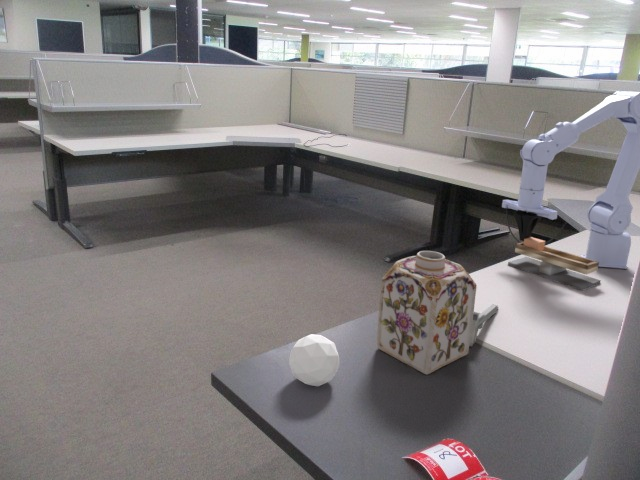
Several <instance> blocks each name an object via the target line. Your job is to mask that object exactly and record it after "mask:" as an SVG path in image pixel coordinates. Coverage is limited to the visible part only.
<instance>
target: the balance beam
mask: <svg viewBox="0 0 640 480" xmlns="http://www.w3.org/2000/svg"><path fill="white" fill-rule="evenodd" d="M514 253H516V254H520V255H523V256H524V257H522V258H518V259H515V260H511V261H507V266H510V267H513V268H516V269H518V270H522V271H525V272H528V273H531V274H534V275H535V276H539V277H542V278H545V279H548V280H551V281H554V282H557V283H560V284H563V285H566V286H568V287H571V288H573V289H574V288H575V289H576V290H581V291H583V290H587V289H589V288H592V287H594V286H597V285H600V284H601V281H602V280H600V279H597V278H594V277H591V276H588V275H589V274H592V273H595V272H598V270H599V267H598V265H599V262H598V261H594V260H591V259H587V258H584V257H581V256H580V255H576V254H573V253H569V252H566V251H562V250H560V249H556V248H553V247H549V246H547V245H546V246H544V251H540V250H537V249H534V248H530V247H527V246H524V241H522V242H519V243H516V244H515V249H514Z"/></svg>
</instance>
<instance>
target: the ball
mask: <svg viewBox="0 0 640 480" xmlns="http://www.w3.org/2000/svg"><path fill="white" fill-rule="evenodd" d="M288 364H289V367H290V369H291V370H290V371H291V372H292V375H293V377H294V378H295V379H297V380H298V381H300V382H302V383H304V384H305V385H307V386H313V387H320V386H323V385H325V384H327V383H329V382H331V381H332V379H333V378H334V377H335V375H336V374H337V373H338V371H339V370H340V356H339V352H338V349H337V346H336V344H335V342H333V340H330V339H329V338H327V337H325V336H323V335H321V334H315V333H313V334H312V333H310V334H309V335H306V336H304V337H302V338H300V339H298V340H297V341H296V343H295V344H294V345H293V347H292V348H291V350H290V352H289V359H288Z"/></svg>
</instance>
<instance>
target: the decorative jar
mask: <svg viewBox="0 0 640 480" xmlns="http://www.w3.org/2000/svg"><path fill="white" fill-rule="evenodd" d="M380 281H381V282H380V283H381V284H380V292H379V293H380V294H379V307H378V316H377V317H378V318H377V332H376V333H377V336H376V348H377V349H378V350H380V351H382V352H384V353H385V354H387V355H389V356H390V357H393V359H394V358H395V359H396V360H398V361H400V362H402V363H403V364H405V365H408V366H409V367H410V368H412V369H415V370H416V371H419V372H420V373H422V374H424V375H426V376H427V375H430V374H431V373H434V372H436V371H437V370H439V369H441V368H442V367H444V366H446V365H449V364H451V363H453V362H455V361H457V360H458V359H460V358H463V357H465V356H467V355H469V349H470V346H469V344H470V337H471V330H472V321H473V313H474V312H475V303H476V293H477V283H476V282H475V281H474V279H473V278H472V277H471V274H470V273H469V272H468V271H467V270H466V269H465V268H464V266H462V265H461V264H460V263H456V262H455V261H451V260H449V259H446V256H445V255H444V254H443V253H441V252H438V251H433V250H420V251H419V252H417V253H416V255H412V256H407V257H404V258H401V259H399V260H397V261H395V262H394V263H393V265H392V266H391V267H390V269H388V270H387V272H386V273H385V275H383V276H382V278H381V280H380Z"/></svg>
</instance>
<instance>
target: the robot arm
mask: <svg viewBox="0 0 640 480" xmlns="http://www.w3.org/2000/svg"><path fill="white" fill-rule="evenodd" d="M612 118H613V119H614V118H616V119H617V120H618V121H619V122H620V123H621V124H622V125H623V126H624V128H625V130H626V132H627V133H626V135H625V138H624V140H623V143H622V146H621V148H620V150H619V151H620V152H619V154H618V156H617V159H616V162H615V164H614V167H613V169H612V173H611V175H610V177H609V178H610V179H609V181H608V183H607V185H606V187H605V188H606V189H605V191H603V192H602V193H601V194H599V195H597V196H596V199H595V200H594V202H593V204H591V206H589V208H588V211H587V217H586V218H587V220H588V221H589V223H590V224H589V227H590V231H589V236H588V242H587V248H586V253H585V255H583V254H580V255H579V256H581V257H584V258H587V259H591V260H594V261H598V262H599V265H598V268H610V269H611V268H613V269H625V270H627V269H628V266H627V264H628V260H629V256H630V250H631V246H632V245H631V244H632V238H631V235H630V233H629V232H627V231H626V230H628V229H629V227H630V225H631V222H632V216H631V215H632V214H631V213H632V211H633V209H634V208H633V204H632V202H631V201H630V199H629V197H630V194H631V192H632V188H633V187H634V184H635V182H636V180H637V176H638V174H639V171H640V91H629V90H623V89H622V90H618V91H615V92H613V94H612V95H609V96H606V97H605V98H604V100H603V101H601V102H600V103H598V104H597V105H595V106H594V107H592V108H591V109H590V110H588V111H587V112H586V113H584V114H582V115H581V116H579V117H578V118H577V119H575V120H574V121H572V122H571V121H563V122H561V121H559V122H557V123H555V127H554V128H552V129H550V130H548V131H547V132H545V133H541V134H540V135H539V134H538V138H537V139H536V138H535V139H530V140H528V141H526V142H525V143H524V145H523V146H522V149H520V150H519V155H520V158H521V159H522V171H521V175H520V176H521V177H520V183H519V184H520V185H519V191H518V192H519V193H518V198H517V199H518V200H511V199H502V203H501V208H503V209H511V210H514V211H516V212H514V213H513V217H514V219H515V221H516V225H517V229H518V234H519V241H522V242H524V239H526V238H529V237H531V235H532V233H533V231H534V229H535V227H536V226H537V225H538V223H539V222H540V220H542V218H547V219H548V220H552V221H553V220H557V219H558V214H559V213H558V210H554V209H552V208H548V207H546V206H543V198H544V192H545V187H546V185H545V184H546V180H547V173H548V168H549V167H548V166H549V164H551V163H552V162H553V161H554V158H555V156H556V155H558V154H559V153H561V152H562V151H564V150H565V149H567V148H569V147H570V146H572V145H574V144H575V143H577V142H578V141H579V138H580V135H581V134H582V133H584V132H587V131H588V130H590V129H592V128H594V127H596V126H597V125H599V124H601V123H603V122H605V121H607V120H608V119H612Z"/></svg>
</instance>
